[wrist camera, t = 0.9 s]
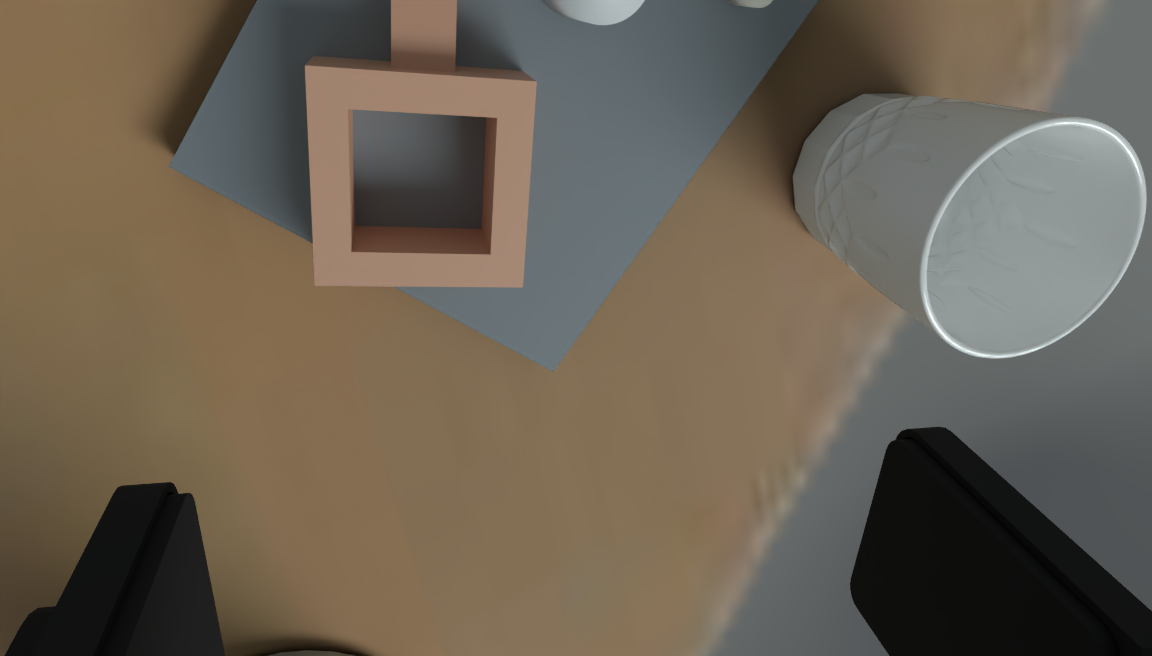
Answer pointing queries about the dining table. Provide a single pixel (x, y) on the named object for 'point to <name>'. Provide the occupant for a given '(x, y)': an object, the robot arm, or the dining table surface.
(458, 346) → the dining table surface
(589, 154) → the board
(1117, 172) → the white cup
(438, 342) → the dining table surface
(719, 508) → the dining table surface
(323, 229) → the square frame with tab
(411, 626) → the dining table surface
